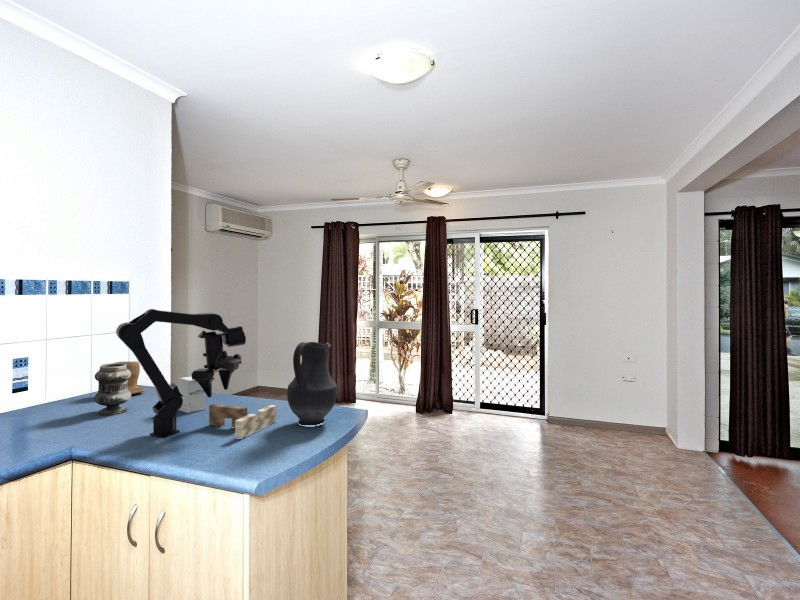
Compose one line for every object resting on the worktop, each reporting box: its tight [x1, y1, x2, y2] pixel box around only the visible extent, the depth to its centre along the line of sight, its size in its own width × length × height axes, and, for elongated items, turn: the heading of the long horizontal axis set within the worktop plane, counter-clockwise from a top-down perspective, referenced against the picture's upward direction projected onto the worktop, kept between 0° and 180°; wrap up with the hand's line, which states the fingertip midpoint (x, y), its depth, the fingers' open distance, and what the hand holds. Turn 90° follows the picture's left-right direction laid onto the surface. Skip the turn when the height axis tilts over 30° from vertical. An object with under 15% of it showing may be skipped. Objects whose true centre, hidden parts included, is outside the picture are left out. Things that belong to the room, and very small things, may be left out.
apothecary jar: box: [93, 362, 132, 415], centre depth 173 cm, size 12×12×18 cm
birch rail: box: [234, 404, 277, 439], centre depth 154 cm, size 20×2×6 cm, turn 163°
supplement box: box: [178, 375, 207, 414], centre depth 177 cm, size 7×7×13 cm
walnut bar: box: [208, 403, 248, 429], centre depth 157 cm, size 14×2×7 cm, turn 73°
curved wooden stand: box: [114, 360, 146, 396], centre depth 199 cm, size 15×12×15 cm
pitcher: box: [286, 341, 338, 425], centre depth 160 cm, size 17×21×30 cm
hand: (218, 393), depth 159 cm, fingers open, 9 cm apart
